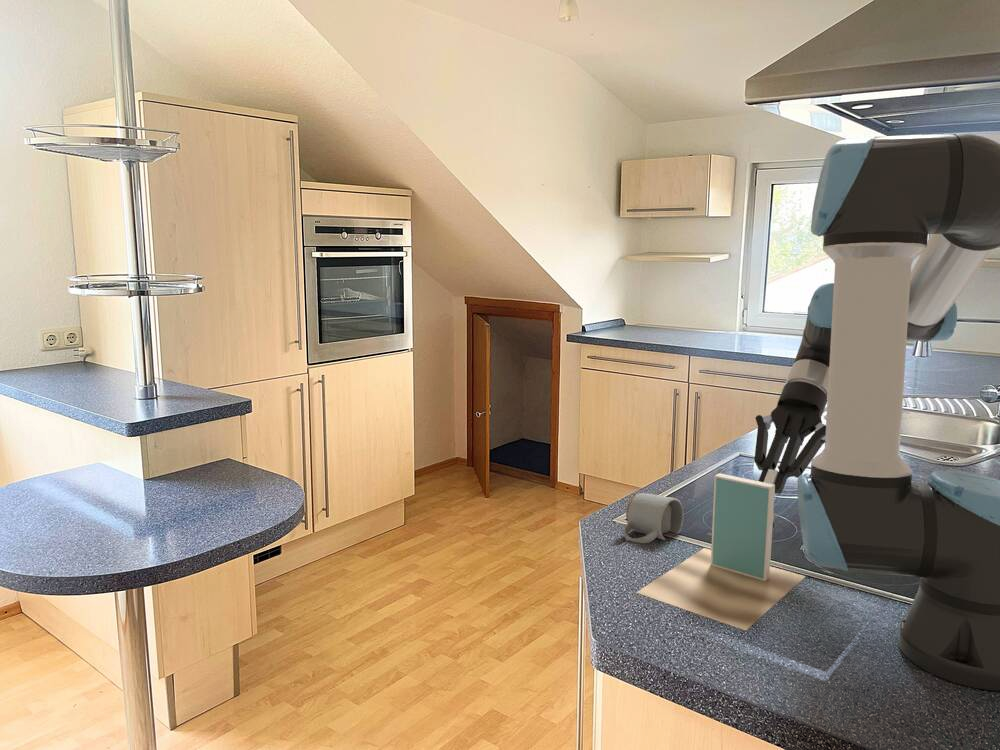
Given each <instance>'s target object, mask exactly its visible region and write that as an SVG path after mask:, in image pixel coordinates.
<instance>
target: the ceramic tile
mask: <svg viewBox="0 0 1000 750" xmlns="http://www.w3.org/2000/svg"><path fill="white" fill-rule="evenodd" d="M713 482H714V483H713V484H714V485H713V504H712V505H713V506H712V507H713V508H712V509H713V510H712V525H711V526H712V528H711V529H712V531H711V549H710V550H711V565H712V566H716V567H719V568H722V569H726V570H729V571H733V572H736V573H739V574H743V575H746V576H750V577H753V578H756V579H760V580H763V581H766V580H767V579H769V578H770V566H771V558H772V556H771V555H772V542H773V541H772V540H773V524H774V521H773V512H774V509H775V508H774V507H775V497H774V494H775V485H774V484H769V483H764V482H759V480H753V479H749V478H744V477H740V476H735V475H729V474H725V473H721V472H720V473H717V474H715V475H714V481H713ZM775 495H776V494H775Z"/></svg>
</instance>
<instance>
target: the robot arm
mask: <svg viewBox="0 0 1000 750" xmlns="http://www.w3.org/2000/svg"><path fill="white" fill-rule="evenodd" d="M815 191H816V192H815V196H814V201H813V207H812V212H811V213H812V214H811V222H810V223H811V224H810V231H811V233H812V235H815V236H817V237H821V236H822V237H823V241H822V242H823V243H822V250H823V252H825V254H826V255H827V256H828V257H829V258H830V259H831V260H832V261H833V263H834V278H833V281H829V282H825V283H824V284H823V283H822V285H820V286H818V287H817V288H816V290H815V291H814V292H813V294H812V297H811V299H810V303H809V305H808V307H807V317H806V321H805V327H804V330H803V333H802V337H801V341H800V345H799V347H798V350H797V354H796V356H795V359H794V360H793V364H792V366H791V368H790V370H789V373H788V375H787V378H786V380H785V385H784V386H783V388H782V389H781V390H782V391H781V392H780V396H779V397H778V398H779V399H778V401H777V405H776V407H775V408H774V409H772V411H771V412H770V414H768V415H766V416H763V415H759V414H757V415H756V416H755V421H756V424H757V430H756V431H757V434H756V442H755V450H754V459H753V460H754V463H755V465H756V467H757V469H758V471H761V473H760V476H759V478H758V481H759V482H764V483H769V484H774V485H775V494H774V498H775V497H776V494H778V495H781V494H782V493H783V491H784V488H785V485H786V483H787V480H788V479H789V478H791V477H792V478H793V477H795V478H797V480H796V481H797V490H796V492H797V493H796V494H797V504H798V505H797V507H798V515H799V517H798V518H799V523H800V531H801V537H802V544H803V548H804V552H805V553H806V554H805V555H806V556H807V558H808V560H809V561H811V562H812V563H813V564H814V565H816V566H819V567H825V568H830V569H831V568H832V569H838V570H842V571H844V572H848V571H855V572H856V571H857V572H864V573H865V572H866V573H874V574H884V575H886V574H887V575H894V576H906V577H914V578H915V577H916V578H919V586H918V590H917V592H916V595H914V598H913V601H912V603H911V606H910V608H909V611H908V612H907V615H906V616H904V618H903V619H902V621H901V623H900V626H899V633H898V647H899V649H900V651H901V652H902V653H903V655H904V656H905V657H906V658H907V659H908V660H909V661H910V662H911V663H914V664H915V666H918V667H920V668H921V669H923V670H924V671H926V672H928V673H930V674H932V675H934V676H936V677H939V678H941V679H943V680H946V681H949V682H952V683H955V684H958V685H962V686H965V687H969V688H970V687H971V688H976V689H980V690H981V689H982V690H987V691H999V692H1000V480H999V479H996V478H993V477H990V476H987V475H983V474H977V473H975V472H974V473H973V472H968V471H961V470H955V469H943V470H941V469H938V470H936V469H935V470H934V471H932V472H931V473H930V475H929V476H928V478H927V483H921V482H920V483H919V482H912V477H913V470H912V467H910V466H909V465H908V463H906V462H905V460H903V458H902V457H901V455H900V447H901V434H902V419H903V418H902V417H903V405H904V404H903V401H904V400H903V399H904V384H905V371H906V370H905V368H906V358H907V357H906V355H907V341H910V342H912V341H913V342H923V343H928V342H936V341H938V342H941V341H942V342H943V341H944V342H945V341H947V340H949V339H950V338H951V337H952V336H953V335H954V333H955V328H956V326H957V323H958V321H957V320H958V308H957V304H956V301H957V300H958V299H959V298H960V296H961V295H962V292H963V291H964V290H965V289H966V288H967V286H968V285H969V283H970V282H971V281H972V280H973V278H974V277H975V275H976V274H977V273H978V271H979V270H980V268H981V267H982V266H983V264H984V263H985V262H986V260H987V259H988V257H989V256H990V255H991V254H992V252H993V250H994V251H995V250H997V249H999V248H1000V143H999V142H997V141H995V140H992V139H990V138H989V137H985V136H982V135H977V134H970V133H955V134H948V135H946V134H945V135H942V134H941V135H940V134H939V135H897V136H896V135H895V136H894V135H893V136H892V135H891V136H889V135H888V136H887V135H886V136H868V137H862V138H855V139H854V138H853V139H843V140H840V141H838V142H836V143H834V144H833V145H832V146H831V147H830V148H829V149H828V151H827V153H826V156H825V157H824V161H823V163H822V167H821V170H820V174H819V178H818V183H817V187H816V190H815ZM928 235H930V236H928ZM928 238H929V239H928ZM916 258H917V260H916ZM915 260H916V262H915V264H914V266H913V268H912V265H913V262H914V261H915ZM963 293H964V292H963ZM825 408H826V418H825V421H826V422H825V425H824V424H823V421H822V417H823V414H824V411H825ZM772 423H773V424H774V427H775V432H774V436H773V439H772V441H771V445H770V447H769V449H768V440H769V430H770V429H771V426H772V425H771V424H772ZM812 433H813V434H812ZM811 434H812V435H811ZM810 435H811V436H810ZM808 436H810V438H809V439H808V441H807V442H806V444H805V445H804V446H803V444H804V441H805V438H806V437H808ZM786 444H787V445H786ZM823 445H824V449H823V450H822V452H820V453H818V452H819V451H820V449H821V447H822V446H823ZM785 446H786V447H785ZM801 446H803V448H802V450H801V451H800V452H799V450H800V448H801ZM784 449H785V450H784ZM783 451H784V453H783ZM782 453H783V455H782ZM798 453H799V454H798ZM817 454H818V455H817ZM781 455H782V458H781ZM780 458H781V460H780ZM779 461H780V462H779ZM778 464H779V465H778ZM809 465H810V474H809V473H806V472H805V470H807V468H808V466H809ZM777 468H778V470H777ZM804 472H805V473H804Z"/></svg>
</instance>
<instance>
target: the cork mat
mask: <svg viewBox="0 0 1000 750" xmlns="http://www.w3.org/2000/svg"><path fill="white" fill-rule="evenodd" d="M804 578H806V575H804V574H803V575H802V574H799V573H796V572H792V571H788V570H785V569H781V568H777V567H776V566H775V567H773V566H771V565H770V578H769V579H767V580H766V581H763V580H760V579H756V578H753V577H750V576H746V575H743V574H739V573H736V572H733V571H729V570H726V569H722V568H719V567H716V566H712V565H711V549H710V548H706V547H703V548H702V549H701V550H699V551H697V552H696V553H694V554H693V555H691V556H690V557H688V558H686V559H685V560H684V561H682V562H680V563H679V564H677V565H676V566H673V568H672V569H670V570H668V571H667V572H665V573H663V574H662V575H661V576H659V577H658V578H656V579H654V580H653V581H651V582H650V583H649V584H646V586H643V587H642V588H641V589H639V590H638V591H636V594H638V595H640V596H644V597H647V598H649V599H652V600H655V601H659V602H661V603H665V604H667V605H670V606H673V607H676V608H680V609H681V610H684V611H687V612H691V613H693V614H697V615H699V616H702V617H705V618H708V619H710V620H714V621H716V622H719V623H723V624H725V625H729V626H732V627H734V628H737V629H740V630H744V631H747V630H749V629H750V628H751V627H752V626H753V625H754V624H755V623H756V622H758V621H759V620H760V619H761V618H762V617H763V616H764V615H765V614H766V613H767V612H769V611H770V609H772V608H773V607H774V606H775V605H776V604H777V603H778V602H779V601H781V600H782V598H784V597H785V596H786V595H787V594H788V593H789V592H790V591H791V590H793V589H794V588H795V586H797V585H798V584H799V583H800V582H801V581H802V580H803V579H804Z"/></svg>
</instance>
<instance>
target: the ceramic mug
mask: <svg viewBox="0 0 1000 750" xmlns="http://www.w3.org/2000/svg"><path fill="white" fill-rule="evenodd" d="M625 518H626V522H627V523H626V525H625V526H624V528H623V536H624V538H625V541H626V542H632V543H637V544H648V543H651V542H653V541H654V540H655V539H658V540H661V541H666V540H667V539H666V538H665V537H664V536H663V534H668V533H669V532H670V533H673V534H674V535H675V534H676V535H679V534H680V532H681V530H682V527H683V524H684V508H683V504H682V502H681V501H680V500H679V499H678V498H676V497H669V496H664V495H659V494H653V493H648V492H647V493H645V492H644V493H642V492H641V493H637V494H635V495H634V496H633V497H632V498H630V501H629V503H627V507H626V513H625ZM630 531H634V532H635V533H636V532H637V533H639V534H643V535H644V536H642V537H639V538H632V537H630V536H629V533H630Z"/></svg>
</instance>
